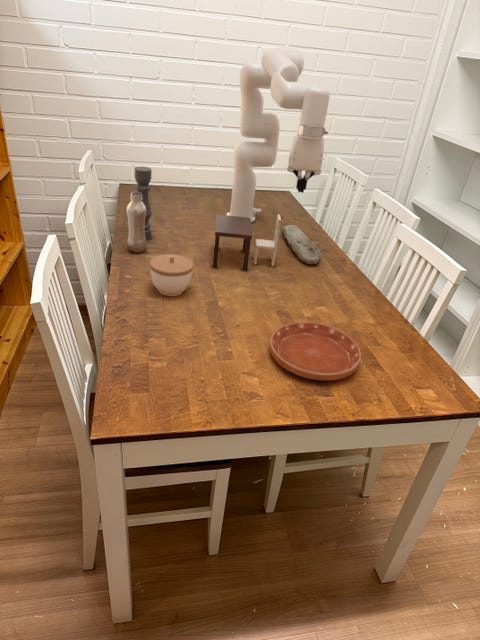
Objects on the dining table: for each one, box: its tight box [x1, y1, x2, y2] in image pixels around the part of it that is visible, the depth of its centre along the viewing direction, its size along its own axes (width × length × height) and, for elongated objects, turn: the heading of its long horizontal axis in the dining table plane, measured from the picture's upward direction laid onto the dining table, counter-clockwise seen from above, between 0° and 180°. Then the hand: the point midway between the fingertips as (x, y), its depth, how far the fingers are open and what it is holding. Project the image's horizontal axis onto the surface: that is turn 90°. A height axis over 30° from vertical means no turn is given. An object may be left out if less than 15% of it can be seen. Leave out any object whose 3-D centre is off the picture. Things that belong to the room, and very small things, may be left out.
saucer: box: [269, 321, 362, 381], centre depth 120 cm, size 23×23×4 cm
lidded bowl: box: [149, 253, 194, 297], centre depth 140 cm, size 13×13×11 cm
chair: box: [252, 213, 282, 267], centre depth 163 cm, size 7×6×17 cm
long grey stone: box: [282, 224, 322, 265], centre depth 182 cm, size 35×5×10 cm
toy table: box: [212, 213, 253, 272], centre depth 164 cm, size 12×17×13 cm
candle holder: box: [134, 166, 152, 242], centre depth 168 cm, size 6×6×25 cm
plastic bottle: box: [126, 191, 147, 253], centre depth 159 cm, size 6×7×20 cm
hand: (300, 191), depth 155 cm, fingers closed
